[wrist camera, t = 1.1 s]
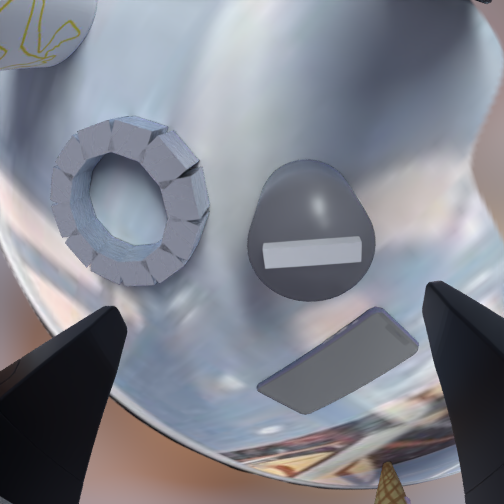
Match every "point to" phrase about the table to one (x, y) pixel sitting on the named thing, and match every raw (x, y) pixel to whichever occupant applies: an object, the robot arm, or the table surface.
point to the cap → (310, 233)
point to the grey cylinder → (42, 31)
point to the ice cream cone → (390, 487)
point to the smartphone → (342, 363)
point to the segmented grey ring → (165, 175)
